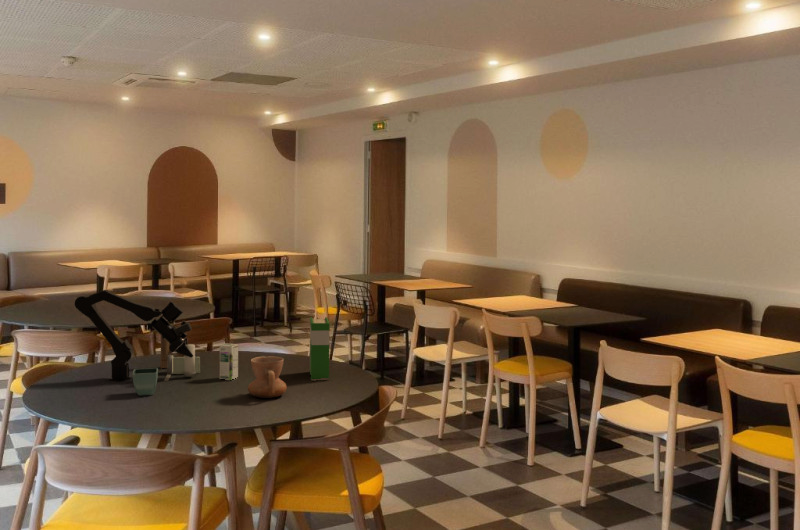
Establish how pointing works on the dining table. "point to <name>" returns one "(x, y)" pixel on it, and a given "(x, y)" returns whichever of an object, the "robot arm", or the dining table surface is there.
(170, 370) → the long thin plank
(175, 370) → the beige flat block
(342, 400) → the dining table surface
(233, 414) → the dining table surface
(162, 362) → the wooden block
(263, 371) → the ceramic jug
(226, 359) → the syrup box
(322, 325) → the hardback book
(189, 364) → the beige dome-topped cylinder
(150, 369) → the flower pot
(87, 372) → the dining table surface
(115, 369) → the robot arm
